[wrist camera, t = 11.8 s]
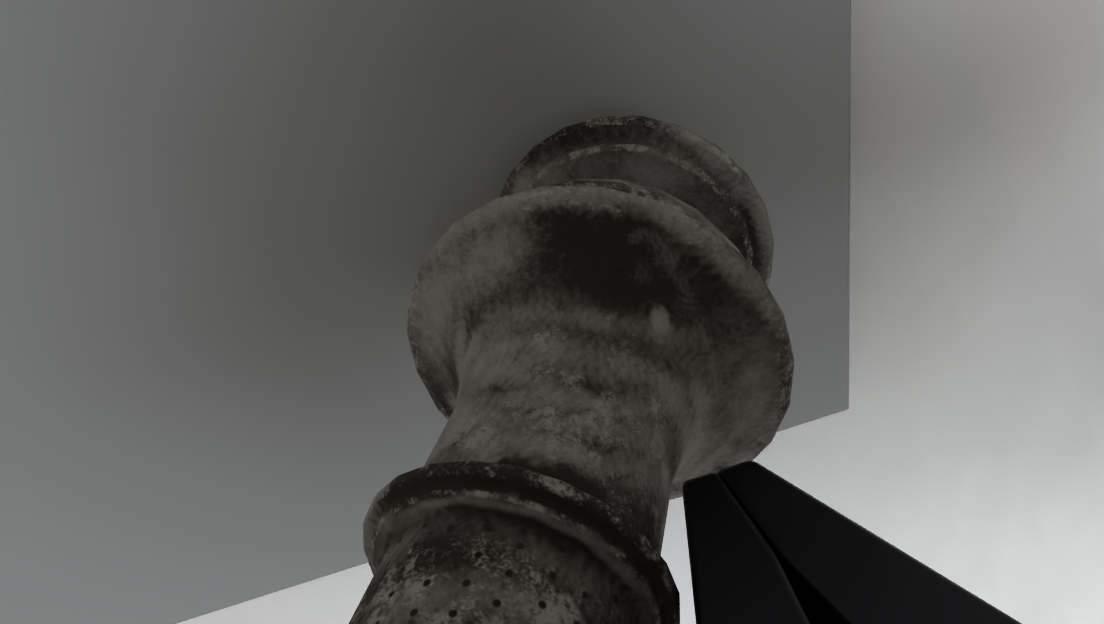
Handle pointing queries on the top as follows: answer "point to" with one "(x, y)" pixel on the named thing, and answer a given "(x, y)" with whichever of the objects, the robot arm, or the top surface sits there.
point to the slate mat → (321, 253)
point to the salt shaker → (580, 381)
